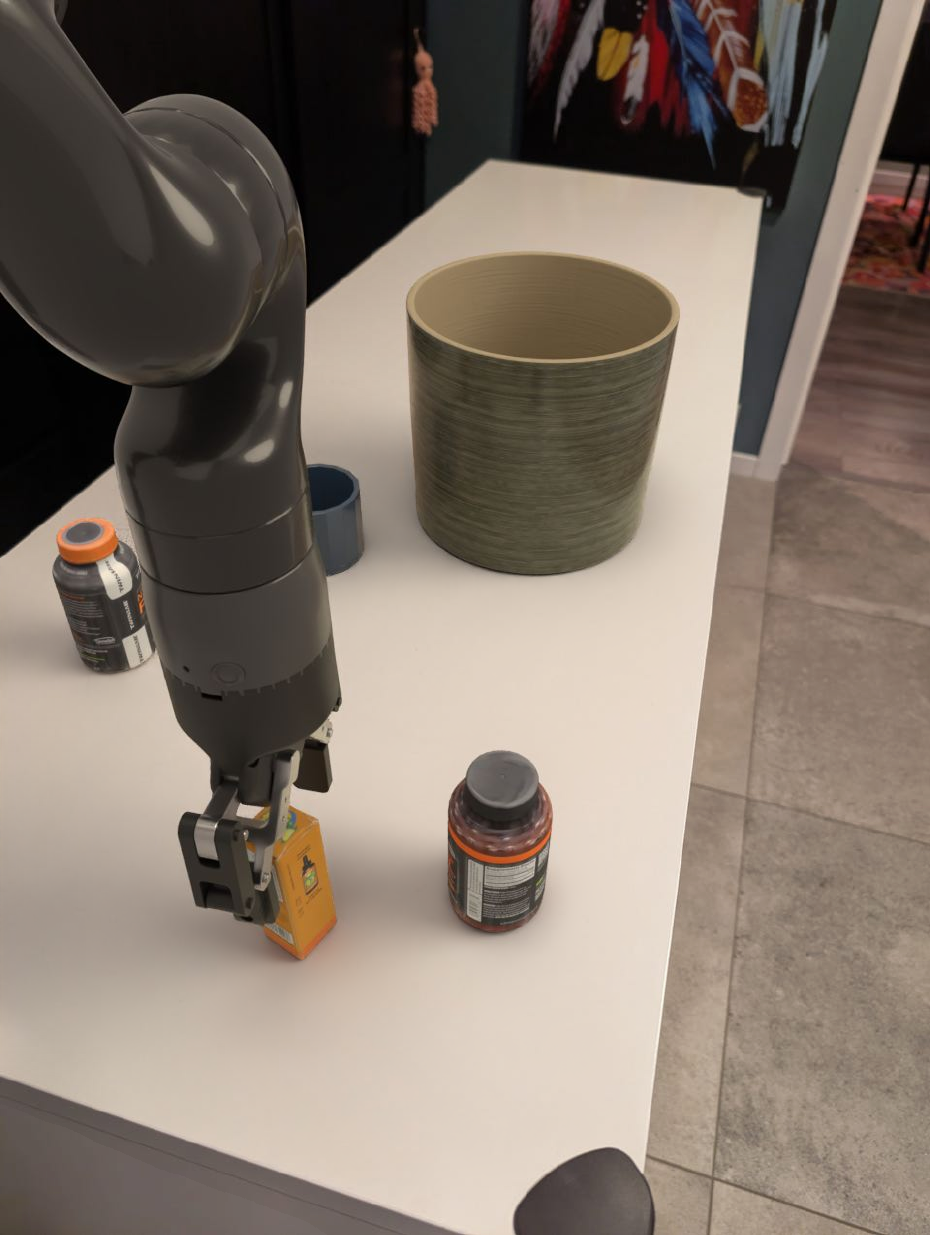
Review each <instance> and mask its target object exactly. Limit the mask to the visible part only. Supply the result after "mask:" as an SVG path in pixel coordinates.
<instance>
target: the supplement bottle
mask: <svg viewBox="0 0 930 1235" xmlns="http://www.w3.org/2000/svg"><path fill="white" fill-rule="evenodd" d="M447 807H448V808H447V889H448V896H449V899H450V902H451V905H452V906H453V909H454V911H456V913H457V915H458V916H459V917H460V918H461V919H462V920H463V921H464V922H465V923H467V924H469V925H471V926H473V927H474V928H476V929H479V930H482V931H485V932H490V933H503V932H508V931H513V930H516V929H518V928H521V927H522V926H524V925H526V924H527V923H528V922H530V920H532V918H534V916H535V915H537V912H538V911H539V909H540V908H541V905H542V902H543V898H544V895H545V890H546V882H547V881H546V880H547V874H548V873H547V871H548V866H549V865H548V864H549V857H550V848H551V839H552V830H553V821H554V811H553V805H552V801H551V797H550V795H549V794H548V792H547V790H546V789H545V787H544V786H543V785H542V783H540V779H539V774H538V770H537V768H536V767H535V765H534V764H533V763H532V762H531V760H530V759H528V758H527V757H525V756H524V755H522V754H520V753H518V752H514V751H512V750H505V749H504V750H503V749H502V750H499V749H497V750H492V751H491V750H490V751H488V752H485V753H482V754H479V756H477V757H476V758H475V759H474V760H472V762H471V763H470V764H469V765H468V767H467V770H466V773H465V777H464V778H463V779H462V780H460V781H459V783H458V784H457V785H456V786H455V788H454V789H453V791H452V793H451V795H450V798H449V800H448V806H447Z"/></svg>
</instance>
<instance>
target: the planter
mask: <svg viewBox="0 0 930 1235" xmlns="http://www.w3.org/2000/svg"><path fill="white" fill-rule="evenodd" d="M405 298H406V299H405V318H406V343H407V344H406V345H407V367H408V368H407V371H408V372H407V373H408V389H409V390H408V392H409V394H408V395H409V409H410V410H409V412H410V429H411V443H412V458H413V459H412V460H413V474H414V475H413V476H414V492H415V507H416V513H417V517H418V520H419V522H420V524H421V526H422V528H423V529H424V531H425V532H426V534H427V535H428V536H429V537H430V538H431V539H432V540H433V541H434V542H435V543H437V545H439V546H440V547H441V548H442V549H444V550H445V551H447V552H449V553H451V554H452V555H453V556H455V557H457V558H460V559H461V560H464V561H466V562H468V563H471V564H474V565H477V566H480V567H483V568H486V569H490V570H495V571H500V572H505V573H511V574H524V575H550V574H561V573H567V572H572V571H573V572H574V571H576V570H581V569H584V568H588V567H591V566H594V565H597V564H599V563H601V562H604V561H605V560H607V559H610V558H611V557H613V556H614V555H615V554H617V553H619V552H620V551H621V550H623V549H624V548H625V547H626V546H627V545H628V544H629V543H630V542H631V541H632V539H634V536H635V535H636V533H637V532H638V530H639V527H640V524H641V521H642V516H643V511H644V507H645V500H646V495H647V491H648V485H649V480H650V476H651V470H652V465H653V461H654V456H655V451H656V446H657V443H658V442H657V441H658V436H659V432H660V426H661V422H662V416H663V412H664V406H665V400H666V395H667V390H668V384H669V379H670V375H671V374H670V373H671V368H672V362H673V358H674V352H675V345H676V341H677V334H678V330H679V325H680V324H679V323H680V318H681V310H680V305H679V303H678V300H677V299H676V297H675V296H674V294H673V293H672V292H671V291H670V290H669V289H668V288H667V287H665V286H664V285H663V284H662V283H660V282H659V281H658V280H656V279H655V278H653V277H651V276H649V275H647V274H645V273H644V272H641V271H639V270H637V269H634V268H632V267H630V266H626V265H623V264H620V263H617V262H613V261H610V260H607V259H603V258H598V257H593V256H588V255H583V254H582V255H581V254H575V253H565V252H557V251H556V252H555V251H535V250H533V251H531V250H530V251H529V250H528V251H527V250H526V251H525V250H524V251H522V250H521V251H506V252H495V253H487V254H480V255H475V256H470V257H465V258H462V259H458V260H455V261H452V262H449V263H446V264H443V265H441V266H439V267H437V268H436V267H435V268H434V269H432V270H430V271H428V272H427V273H426V274H424V275H422V276H421V277H420V278H418V279H417V280H416V281H415V282H414V283H413V284H412V286H411V287H410V288H409V290H408V292H407V294H406V297H405Z"/></svg>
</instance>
